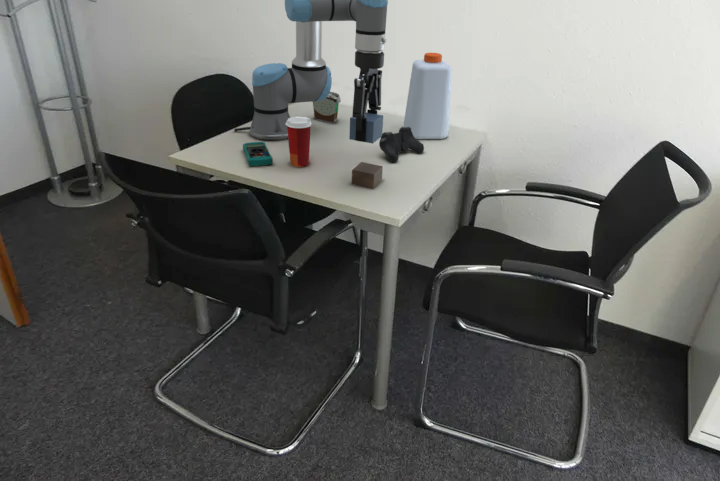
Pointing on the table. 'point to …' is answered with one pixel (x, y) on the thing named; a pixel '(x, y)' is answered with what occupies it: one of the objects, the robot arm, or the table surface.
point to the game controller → (399, 143)
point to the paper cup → (299, 140)
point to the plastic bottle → (429, 98)
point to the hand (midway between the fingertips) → (366, 136)
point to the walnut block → (367, 175)
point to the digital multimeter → (257, 154)
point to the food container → (327, 108)
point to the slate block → (369, 127)
